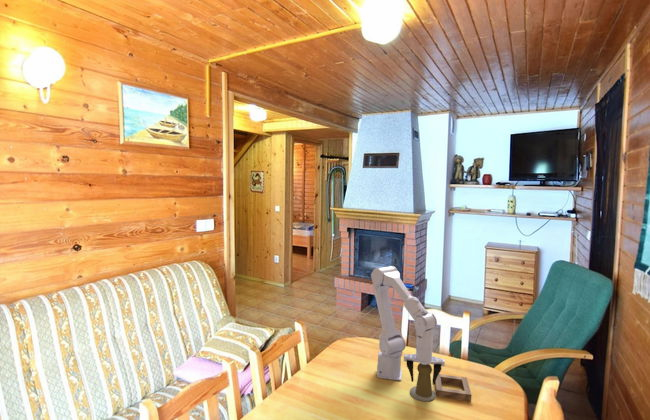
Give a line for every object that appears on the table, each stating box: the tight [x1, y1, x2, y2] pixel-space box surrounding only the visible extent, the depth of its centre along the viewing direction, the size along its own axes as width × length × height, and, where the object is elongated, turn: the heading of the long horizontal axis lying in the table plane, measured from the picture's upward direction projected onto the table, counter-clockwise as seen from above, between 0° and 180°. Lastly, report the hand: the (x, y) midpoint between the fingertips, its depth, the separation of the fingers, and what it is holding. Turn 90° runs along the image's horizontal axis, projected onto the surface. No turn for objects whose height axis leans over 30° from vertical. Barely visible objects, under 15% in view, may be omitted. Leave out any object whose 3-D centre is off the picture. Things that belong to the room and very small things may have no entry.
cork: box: [415, 362, 433, 397], centre depth 134 cm, size 6×6×11 cm
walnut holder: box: [434, 373, 472, 402], centre depth 138 cm, size 12×12×2 cm
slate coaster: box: [409, 385, 436, 403], centre depth 135 cm, size 9×9×1 cm
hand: (422, 381), depth 134 cm, fingers open, 7 cm apart
